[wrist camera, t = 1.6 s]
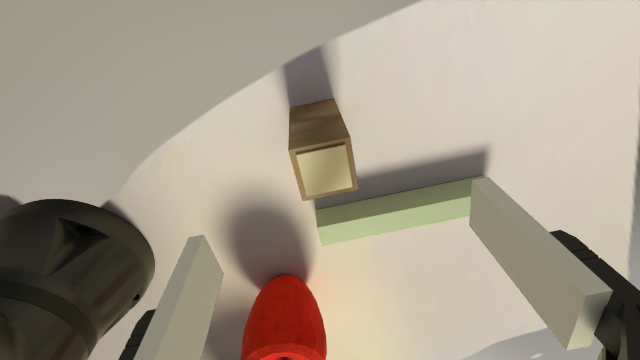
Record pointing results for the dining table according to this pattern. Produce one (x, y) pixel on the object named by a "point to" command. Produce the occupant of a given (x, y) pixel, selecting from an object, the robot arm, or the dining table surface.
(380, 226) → the rail
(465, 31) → the dining table surface
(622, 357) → the robot arm
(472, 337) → the dining table surface
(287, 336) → the apple
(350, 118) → the dining table surface
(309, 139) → the walnut block
